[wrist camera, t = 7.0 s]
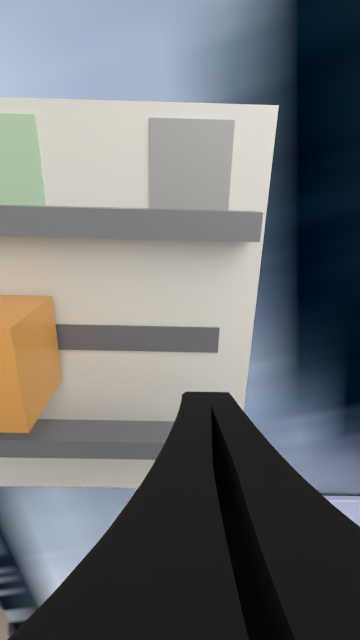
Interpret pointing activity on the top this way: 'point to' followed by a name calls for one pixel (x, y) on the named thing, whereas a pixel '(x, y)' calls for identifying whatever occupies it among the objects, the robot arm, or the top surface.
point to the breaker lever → (27, 360)
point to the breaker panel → (130, 269)
